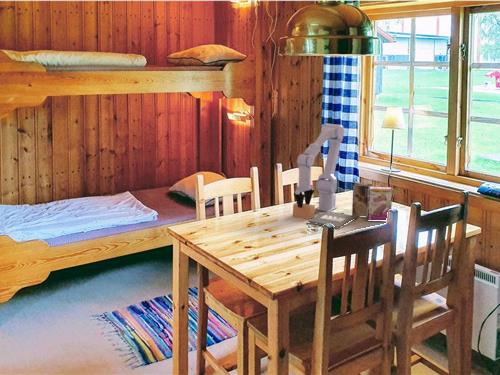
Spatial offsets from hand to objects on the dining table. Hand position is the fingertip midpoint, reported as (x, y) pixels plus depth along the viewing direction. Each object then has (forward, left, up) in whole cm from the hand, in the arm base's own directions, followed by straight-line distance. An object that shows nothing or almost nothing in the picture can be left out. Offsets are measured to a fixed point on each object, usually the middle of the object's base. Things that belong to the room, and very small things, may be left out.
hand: (303, 205), depth 279 cm
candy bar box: (-15, +33, -6) cm, 37 cm away
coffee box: (-18, +23, -6) cm, 30 cm away
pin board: (-2, +15, -6) cm, 16 cm away
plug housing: (0, 0, -6) cm, 6 cm away
